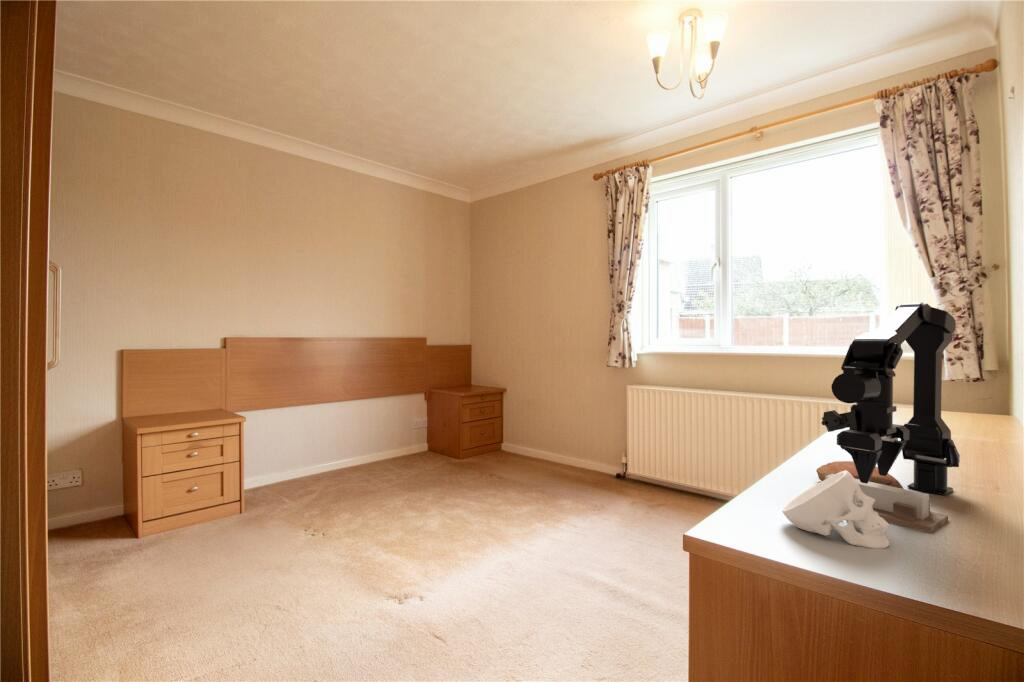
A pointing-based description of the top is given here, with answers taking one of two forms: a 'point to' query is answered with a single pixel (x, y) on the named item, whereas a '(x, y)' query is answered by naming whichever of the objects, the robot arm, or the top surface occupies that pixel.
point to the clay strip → (894, 497)
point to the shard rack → (912, 517)
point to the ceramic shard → (855, 473)
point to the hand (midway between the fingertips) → (873, 479)
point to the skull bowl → (839, 512)
